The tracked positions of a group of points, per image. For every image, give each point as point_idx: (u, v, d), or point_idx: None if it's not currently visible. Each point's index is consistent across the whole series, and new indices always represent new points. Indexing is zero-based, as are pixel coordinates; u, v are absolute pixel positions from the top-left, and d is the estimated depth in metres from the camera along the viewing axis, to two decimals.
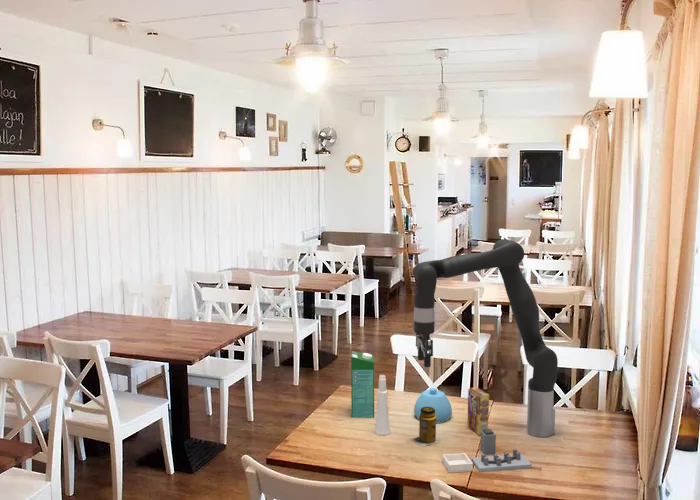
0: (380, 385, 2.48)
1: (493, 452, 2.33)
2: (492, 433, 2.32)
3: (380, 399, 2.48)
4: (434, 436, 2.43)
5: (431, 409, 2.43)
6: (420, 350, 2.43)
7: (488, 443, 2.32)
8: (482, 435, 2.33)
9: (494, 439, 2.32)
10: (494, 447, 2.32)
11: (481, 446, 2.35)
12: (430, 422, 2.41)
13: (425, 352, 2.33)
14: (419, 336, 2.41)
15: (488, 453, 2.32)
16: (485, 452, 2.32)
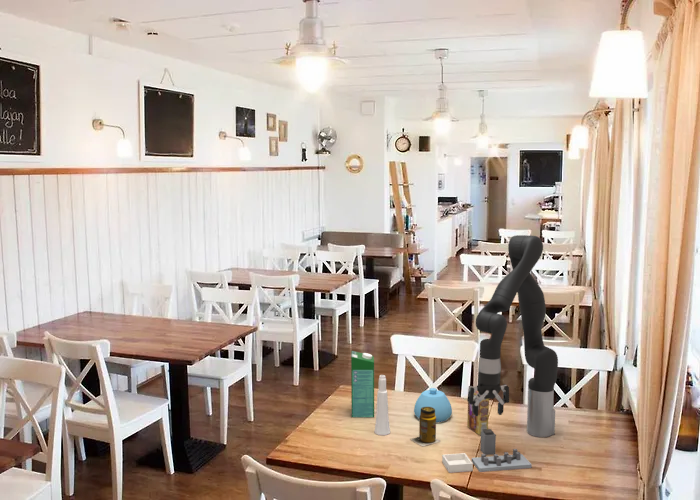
0: (380, 385, 2.48)
1: (493, 452, 2.33)
2: (492, 433, 2.32)
3: (380, 399, 2.48)
4: (434, 436, 2.43)
5: (431, 409, 2.43)
6: None
7: (488, 443, 2.32)
8: (482, 435, 2.33)
9: (494, 439, 2.32)
10: (494, 447, 2.32)
11: (481, 446, 2.35)
12: (430, 422, 2.41)
13: (506, 399, 2.32)
14: (483, 390, 2.30)
15: (488, 453, 2.32)
16: (485, 452, 2.32)
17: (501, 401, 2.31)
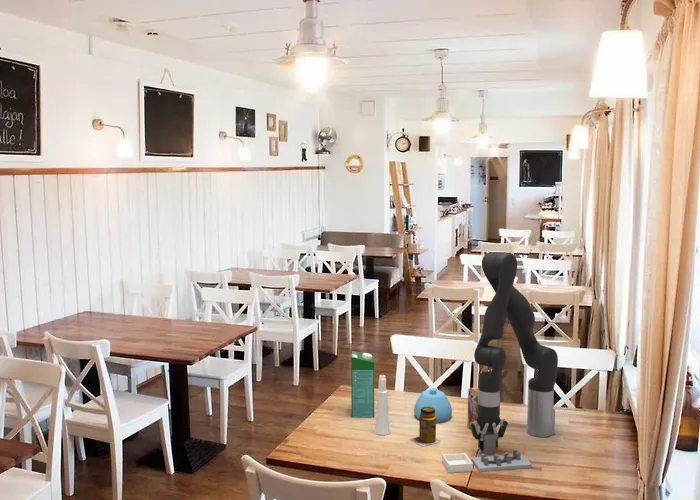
0: (380, 385, 2.48)
1: (493, 452, 2.33)
2: (492, 433, 2.32)
3: (380, 399, 2.48)
4: (434, 436, 2.43)
5: (431, 409, 2.43)
6: None
7: (488, 443, 2.32)
8: None
9: (494, 439, 2.32)
10: (494, 447, 2.32)
11: None
12: (430, 422, 2.41)
13: (501, 433, 2.33)
14: (482, 424, 2.31)
15: (488, 453, 2.32)
16: (485, 452, 2.32)
17: (496, 436, 2.33)
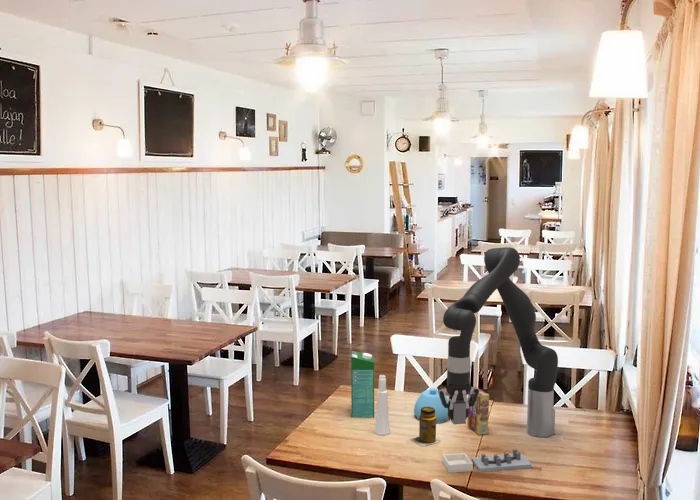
0: (380, 385, 2.48)
1: (463, 421, 2.20)
2: (462, 401, 2.19)
3: (380, 399, 2.48)
4: (434, 436, 2.43)
5: (431, 409, 2.43)
6: None
7: (458, 412, 2.19)
8: None
9: (464, 408, 2.19)
10: (464, 416, 2.19)
11: None
12: (430, 422, 2.41)
13: (472, 402, 2.20)
14: (452, 391, 2.19)
15: (458, 423, 2.19)
16: (455, 421, 2.19)
17: (466, 404, 2.20)
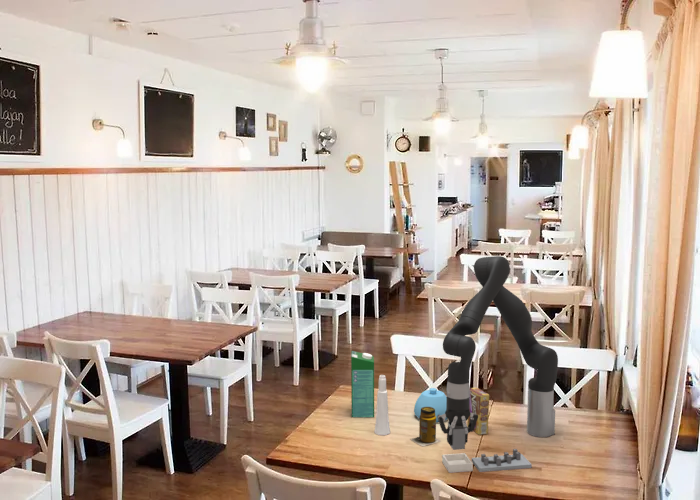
0: (380, 385, 2.48)
1: (462, 447, 2.21)
2: (461, 427, 2.20)
3: (380, 399, 2.48)
4: (434, 436, 2.43)
5: (431, 409, 2.43)
6: None
7: (458, 438, 2.20)
8: None
9: (463, 433, 2.20)
10: (463, 442, 2.21)
11: None
12: (430, 422, 2.41)
13: (471, 427, 2.21)
14: (451, 417, 2.20)
15: (457, 448, 2.21)
16: (454, 447, 2.20)
17: (466, 430, 2.21)
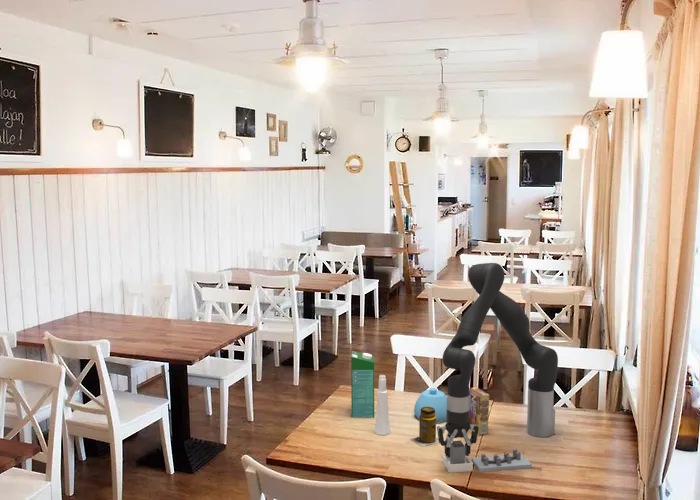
0: (380, 385, 2.48)
1: None
2: (461, 445, 2.21)
3: (380, 399, 2.48)
4: (434, 436, 2.43)
5: (431, 409, 2.43)
6: (449, 445, 2.22)
7: (458, 456, 2.21)
8: (451, 447, 2.23)
9: (464, 451, 2.21)
10: (464, 459, 2.21)
11: (450, 458, 2.24)
12: (430, 422, 2.41)
13: (474, 439, 2.22)
14: (451, 429, 2.20)
15: None
16: None
17: (468, 442, 2.22)
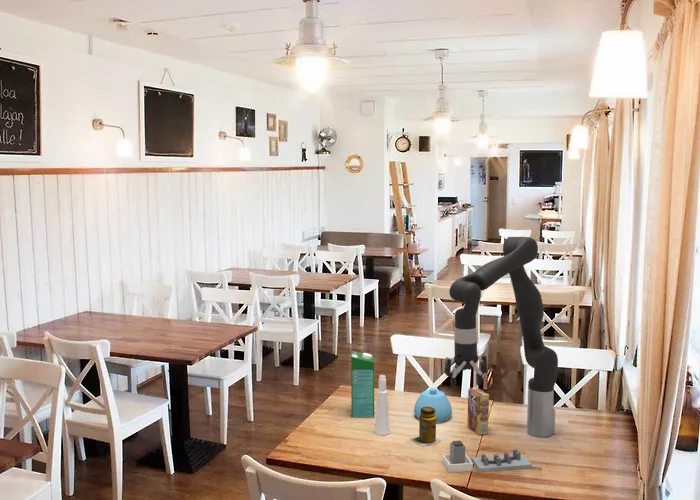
0: (380, 385, 2.48)
1: None
2: (461, 445, 2.21)
3: (380, 399, 2.48)
4: (434, 436, 2.43)
5: (431, 409, 2.43)
6: None
7: (458, 456, 2.21)
8: (451, 447, 2.23)
9: (464, 451, 2.21)
10: (464, 459, 2.21)
11: (450, 458, 2.24)
12: (430, 422, 2.41)
13: (484, 369, 2.26)
14: (460, 361, 2.24)
15: None
16: None
17: (479, 371, 2.26)
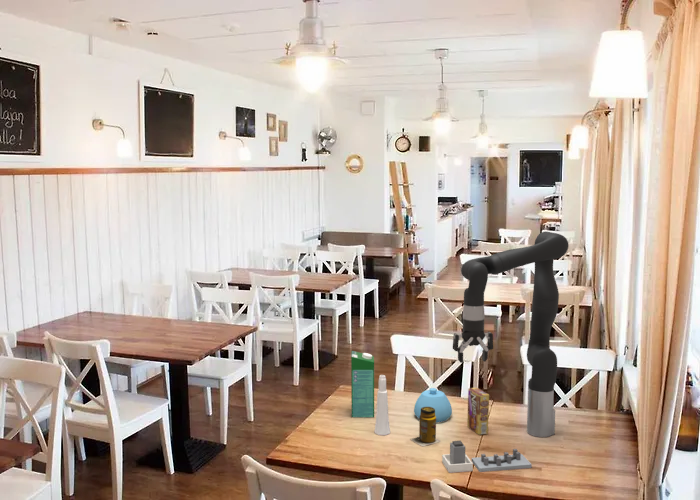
0: (380, 385, 2.48)
1: None
2: (461, 445, 2.21)
3: (380, 399, 2.48)
4: (434, 436, 2.43)
5: (431, 409, 2.43)
6: (462, 352, 2.37)
7: (458, 456, 2.21)
8: (451, 447, 2.23)
9: (464, 451, 2.21)
10: (464, 459, 2.21)
11: (450, 458, 2.24)
12: (430, 422, 2.41)
13: (490, 345, 2.38)
14: (467, 337, 2.36)
15: None
16: None
17: (485, 348, 2.38)
